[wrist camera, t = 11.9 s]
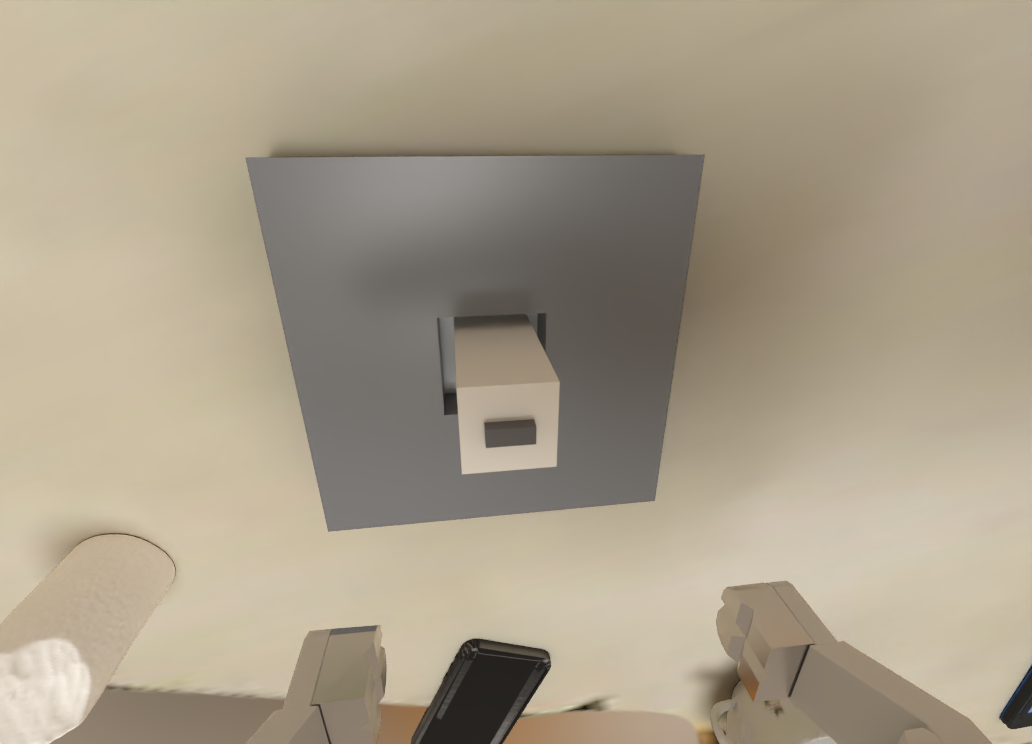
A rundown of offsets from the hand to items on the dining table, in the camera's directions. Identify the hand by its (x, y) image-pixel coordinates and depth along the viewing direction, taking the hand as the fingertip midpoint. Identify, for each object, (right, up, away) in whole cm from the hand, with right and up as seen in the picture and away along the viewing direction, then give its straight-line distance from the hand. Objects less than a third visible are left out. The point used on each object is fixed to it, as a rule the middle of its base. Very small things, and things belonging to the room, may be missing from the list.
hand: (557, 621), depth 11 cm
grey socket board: (-2, +7, +16) cm, 18 cm away
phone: (-4, -22, +30) cm, 38 cm away
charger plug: (-2, +7, +16) cm, 18 cm away
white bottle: (-26, -7, +20) cm, 33 cm away
